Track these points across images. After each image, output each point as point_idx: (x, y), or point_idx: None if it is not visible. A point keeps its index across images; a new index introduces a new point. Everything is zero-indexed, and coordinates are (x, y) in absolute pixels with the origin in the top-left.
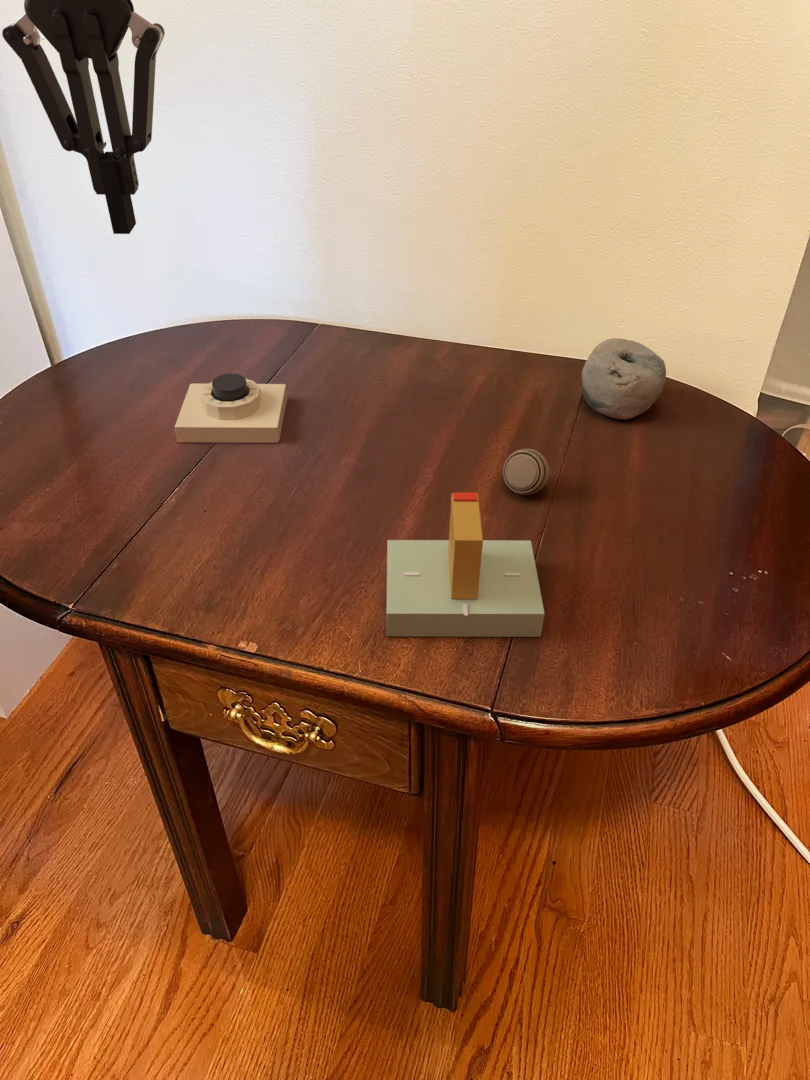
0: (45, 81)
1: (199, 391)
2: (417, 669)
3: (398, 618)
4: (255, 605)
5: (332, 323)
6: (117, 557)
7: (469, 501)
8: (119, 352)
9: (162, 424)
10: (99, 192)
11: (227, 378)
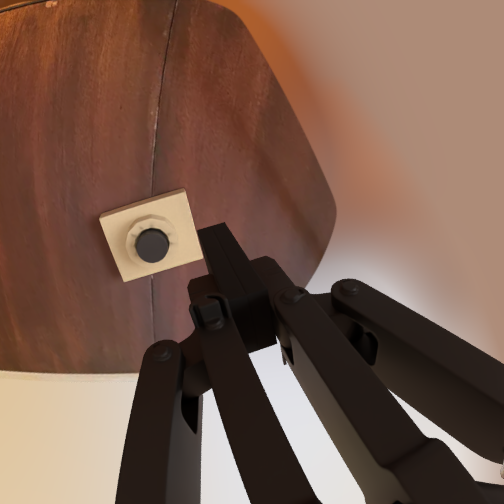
0: (466, 380)
1: (189, 249)
2: None
3: None
4: (53, 32)
5: None
6: (167, 41)
7: None
8: None
9: (208, 209)
10: (261, 259)
11: (156, 253)
